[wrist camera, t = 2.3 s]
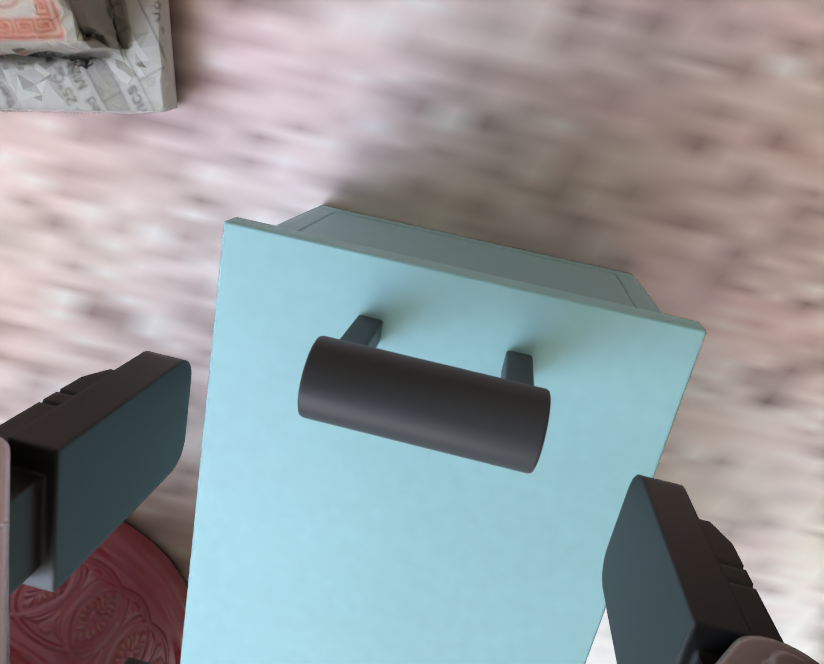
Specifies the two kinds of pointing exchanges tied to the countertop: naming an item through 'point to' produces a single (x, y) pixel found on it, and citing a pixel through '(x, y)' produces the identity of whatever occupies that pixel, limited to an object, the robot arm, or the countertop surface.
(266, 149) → the countertop surface
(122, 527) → the kitchen canister
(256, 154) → the countertop surface
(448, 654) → the freezer lid
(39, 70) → the packaged product
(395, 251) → the box
